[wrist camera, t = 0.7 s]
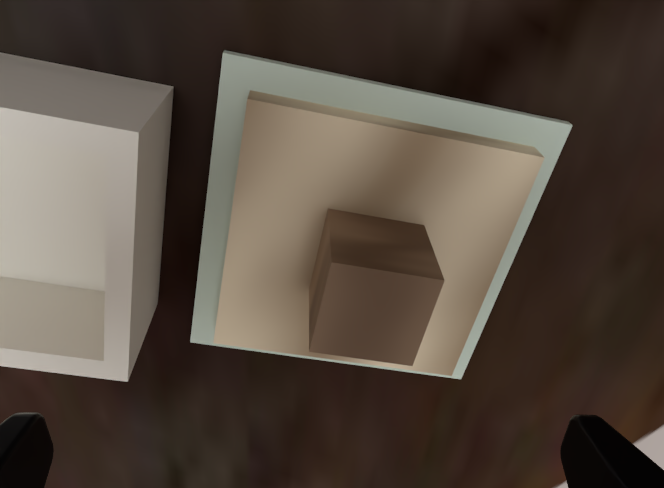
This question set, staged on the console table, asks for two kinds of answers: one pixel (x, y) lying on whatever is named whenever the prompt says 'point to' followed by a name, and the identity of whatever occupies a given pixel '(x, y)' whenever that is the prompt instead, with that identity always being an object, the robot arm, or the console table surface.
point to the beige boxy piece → (79, 216)
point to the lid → (365, 234)
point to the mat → (366, 98)
